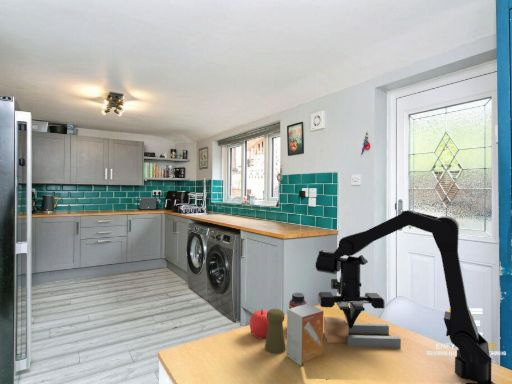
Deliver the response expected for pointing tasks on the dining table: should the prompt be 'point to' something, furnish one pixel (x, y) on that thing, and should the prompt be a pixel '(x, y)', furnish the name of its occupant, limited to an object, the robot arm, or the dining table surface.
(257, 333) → the apple
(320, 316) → the small box
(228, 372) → the dining table surface
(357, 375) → the dining table surface
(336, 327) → the block
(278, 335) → the olive pepper mill
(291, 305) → the supplement bottle
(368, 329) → the chute
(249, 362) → the dining table surface
